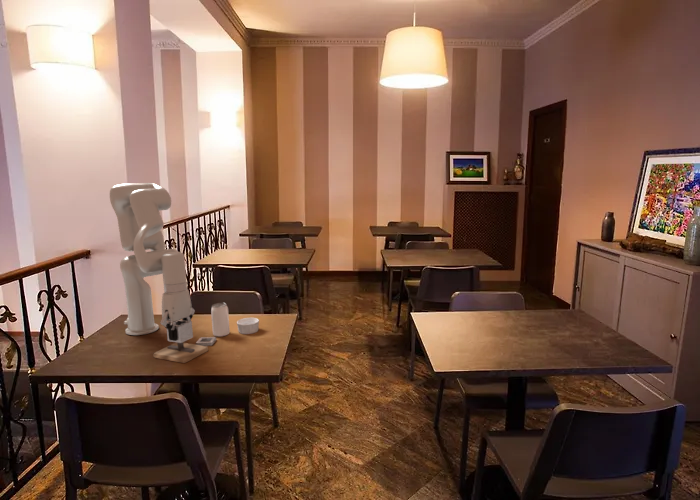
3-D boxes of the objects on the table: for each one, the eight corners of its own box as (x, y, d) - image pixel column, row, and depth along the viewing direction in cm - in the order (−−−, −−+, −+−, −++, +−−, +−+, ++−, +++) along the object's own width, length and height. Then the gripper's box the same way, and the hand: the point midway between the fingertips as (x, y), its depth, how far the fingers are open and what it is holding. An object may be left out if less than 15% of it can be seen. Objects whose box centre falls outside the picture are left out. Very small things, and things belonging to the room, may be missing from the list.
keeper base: (153, 357, 167) (151, 334, 166) (178, 345, 178) (176, 323, 177) (184, 363, 162) (182, 339, 160) (208, 350, 173) (206, 328, 171)
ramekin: (257, 334, 188) (256, 324, 188) (234, 335, 189) (234, 324, 188) (261, 327, 197) (261, 317, 196) (240, 327, 197) (239, 317, 197)
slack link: (196, 346, 177) (195, 342, 177) (200, 340, 183) (200, 337, 183) (212, 345, 177) (211, 342, 177) (216, 339, 183) (216, 336, 183)
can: (225, 337, 186) (223, 307, 184) (209, 336, 187) (207, 307, 185) (232, 331, 192) (230, 303, 190) (217, 331, 194) (215, 302, 191)
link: (167, 341, 167) (166, 324, 166) (180, 335, 173) (178, 319, 172) (180, 343, 165) (179, 326, 164) (193, 337, 170) (191, 321, 169)
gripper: (185, 281, 175) (189, 328, 178) (148, 292, 160) (153, 344, 162) (201, 282, 172) (205, 330, 175) (165, 294, 157) (170, 346, 159)
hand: (180, 336), depth 169 cm, fingers closed on link, 6 cm apart
